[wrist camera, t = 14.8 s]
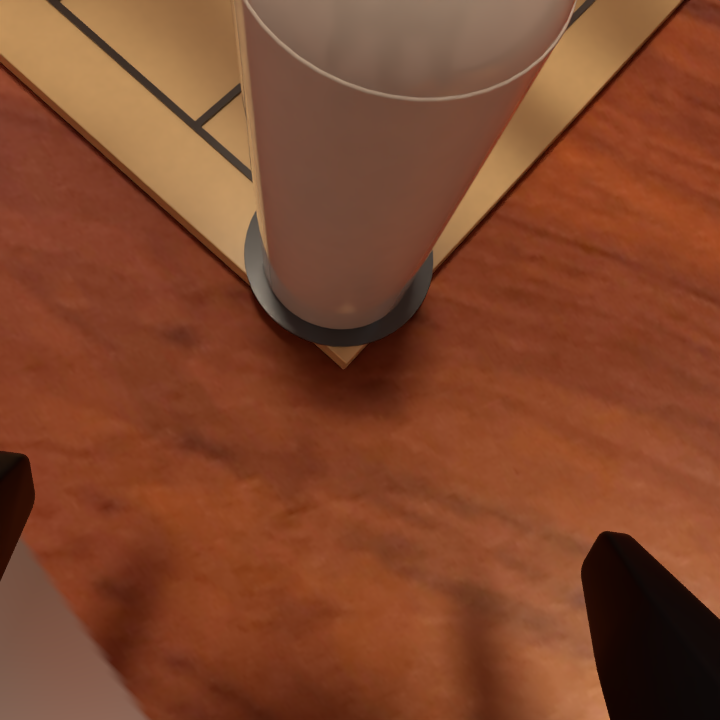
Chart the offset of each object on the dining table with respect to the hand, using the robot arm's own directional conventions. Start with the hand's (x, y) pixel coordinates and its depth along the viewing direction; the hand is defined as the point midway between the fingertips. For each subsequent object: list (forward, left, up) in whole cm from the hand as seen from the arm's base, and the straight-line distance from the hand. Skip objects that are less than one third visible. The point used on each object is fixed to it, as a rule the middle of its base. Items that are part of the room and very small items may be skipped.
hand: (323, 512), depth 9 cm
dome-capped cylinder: (+6, +4, -8) cm, 11 cm away
